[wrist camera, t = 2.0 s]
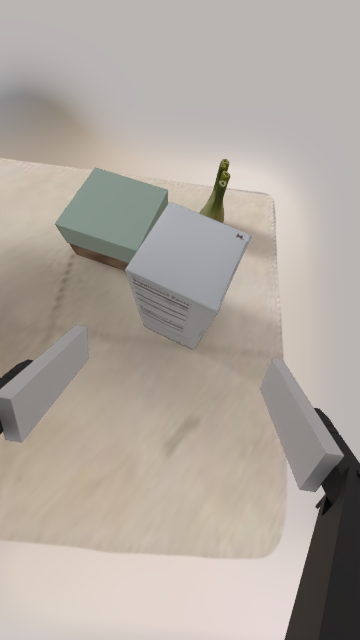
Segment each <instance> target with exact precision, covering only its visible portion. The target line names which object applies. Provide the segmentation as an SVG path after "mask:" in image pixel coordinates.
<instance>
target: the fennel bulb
mask: <svg viewBox="0 0 360 640" xmlns="http://www.w3.org/2000/svg"><path fill="white" fill-rule="evenodd" d="M228 167H229V161H228V160H227V159H223V160H222V161H221V163H220V167H219V170H218V174H217V178H216V182H215V185H214V189H213V192H212V194H211V196H210V198H209V200H208V202H207V204H206V205H205V206H204V208H203V209H202V210H201V212H200V214H201V215H204V216H206V217H208V218H211V219H213V220H216V221H218V222H221V223H223V221H224V208H223V196H224V193H225V190H226V187H227V184H228V181H229V178H230V174H229V173H228V172H227V170H228Z"/></svg>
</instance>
